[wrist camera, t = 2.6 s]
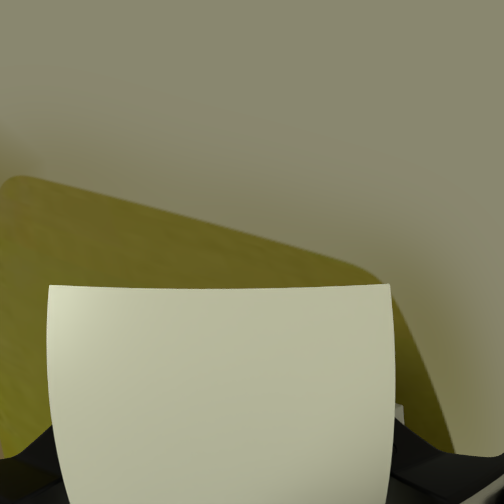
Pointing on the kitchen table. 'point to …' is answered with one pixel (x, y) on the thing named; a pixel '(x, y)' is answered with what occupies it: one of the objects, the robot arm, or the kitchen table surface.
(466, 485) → the robot arm
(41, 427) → the kitchen table surface
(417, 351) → the kitchen table surface
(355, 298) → the white lidded box
